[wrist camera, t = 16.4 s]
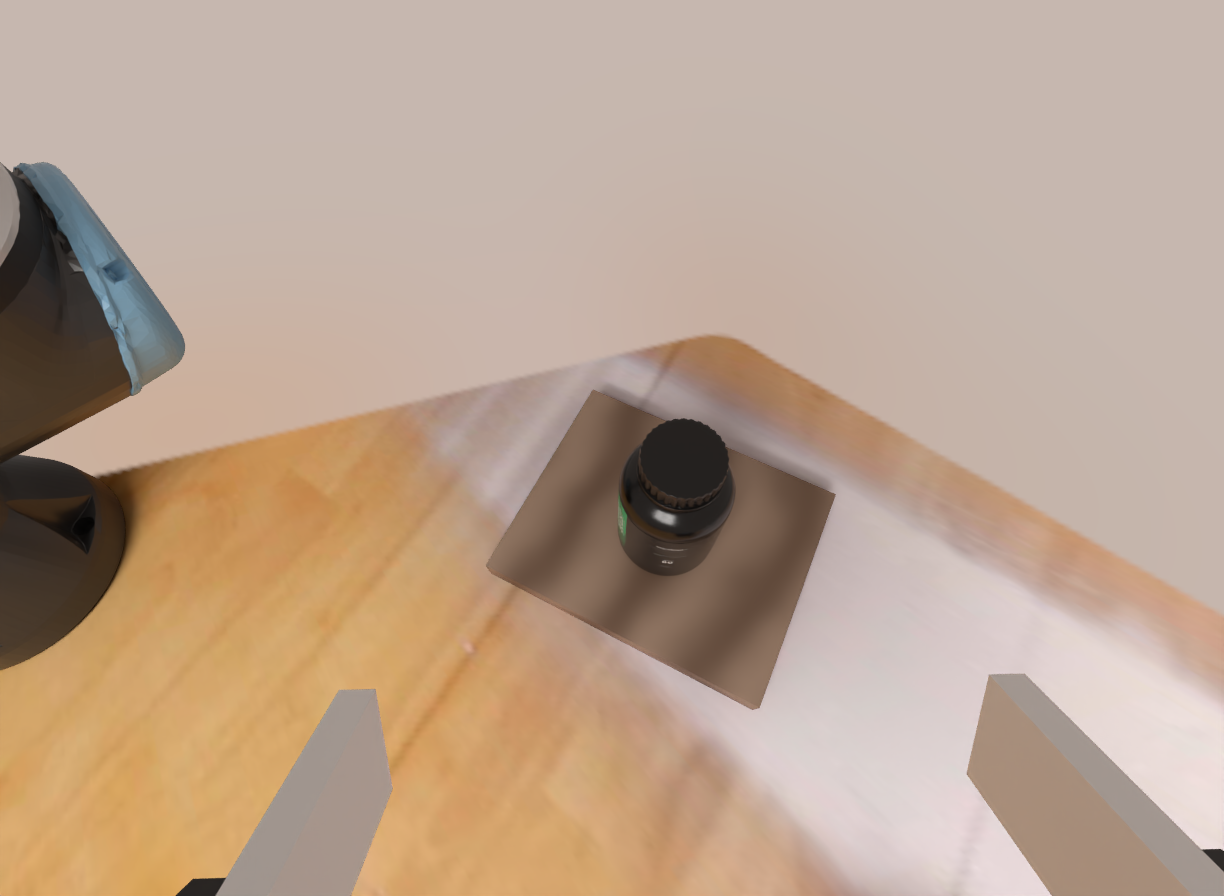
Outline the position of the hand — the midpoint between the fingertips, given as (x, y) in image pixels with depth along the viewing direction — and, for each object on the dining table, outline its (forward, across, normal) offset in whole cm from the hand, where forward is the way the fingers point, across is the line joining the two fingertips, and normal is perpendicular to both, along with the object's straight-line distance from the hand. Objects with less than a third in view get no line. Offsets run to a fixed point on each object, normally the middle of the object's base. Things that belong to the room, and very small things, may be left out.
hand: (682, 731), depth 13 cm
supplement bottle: (+28, +3, -9) cm, 29 cm away
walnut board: (+29, +3, -10) cm, 31 cm away
